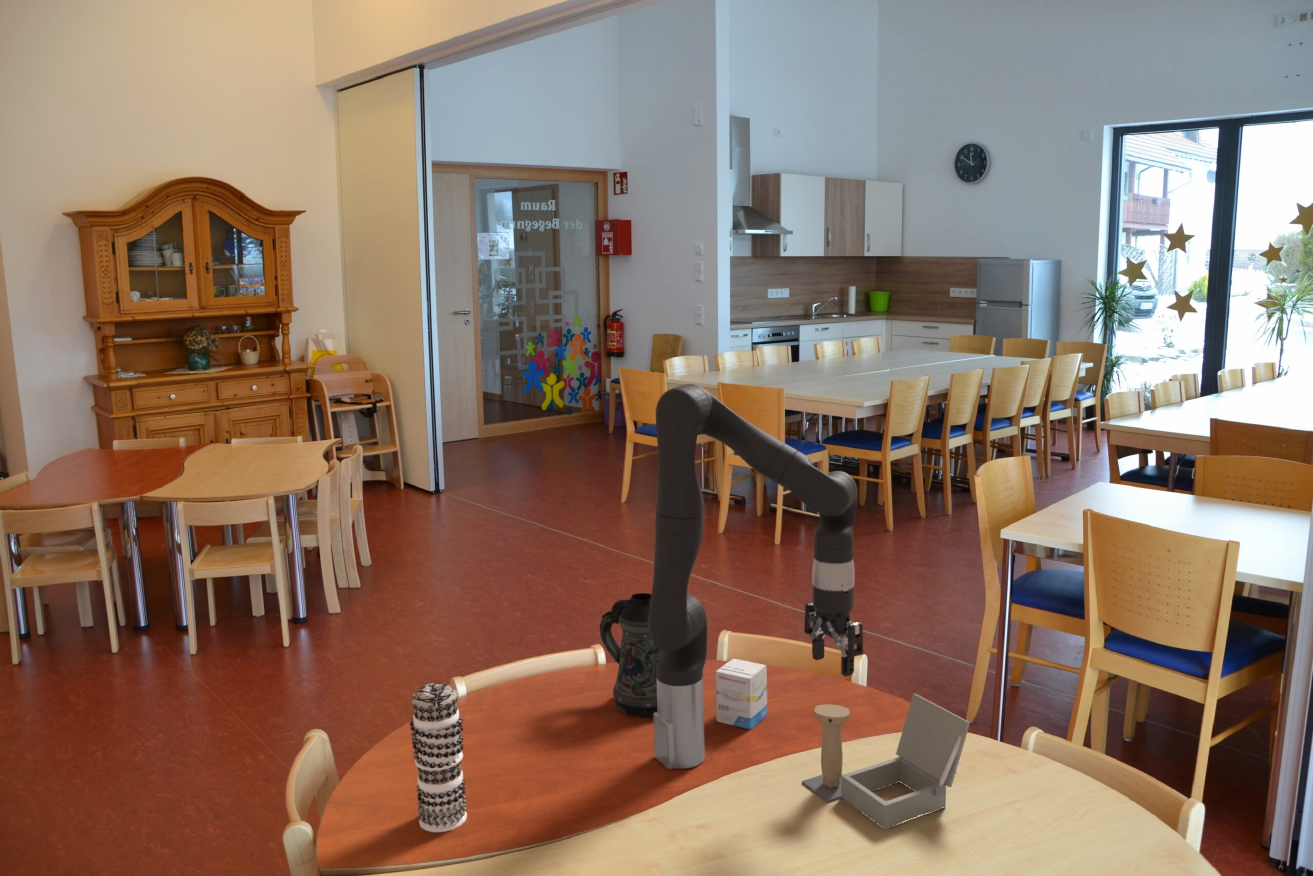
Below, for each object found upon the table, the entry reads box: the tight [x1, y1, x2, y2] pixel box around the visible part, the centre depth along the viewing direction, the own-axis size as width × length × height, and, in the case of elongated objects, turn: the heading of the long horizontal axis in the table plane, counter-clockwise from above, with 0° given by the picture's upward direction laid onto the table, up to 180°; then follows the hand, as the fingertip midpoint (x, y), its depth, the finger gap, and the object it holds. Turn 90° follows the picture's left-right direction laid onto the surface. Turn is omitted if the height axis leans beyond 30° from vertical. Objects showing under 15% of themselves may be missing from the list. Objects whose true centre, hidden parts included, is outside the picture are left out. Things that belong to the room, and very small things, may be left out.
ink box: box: [714, 658, 768, 730], centre depth 213 cm, size 9×8×12 cm
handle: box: [813, 703, 851, 788], centre depth 183 cm, size 5×6×15 cm
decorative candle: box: [409, 682, 468, 833], centre depth 175 cm, size 9×9×25 cm
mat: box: [801, 773, 843, 803], centre depth 184 cm, size 8×8×1 cm
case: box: [840, 693, 971, 830], centre depth 178 cm, size 18×14×16 cm
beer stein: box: [599, 592, 663, 719], centre depth 221 cm, size 16×19×25 cm
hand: (832, 667), depth 180 cm, fingers open, 8 cm apart
